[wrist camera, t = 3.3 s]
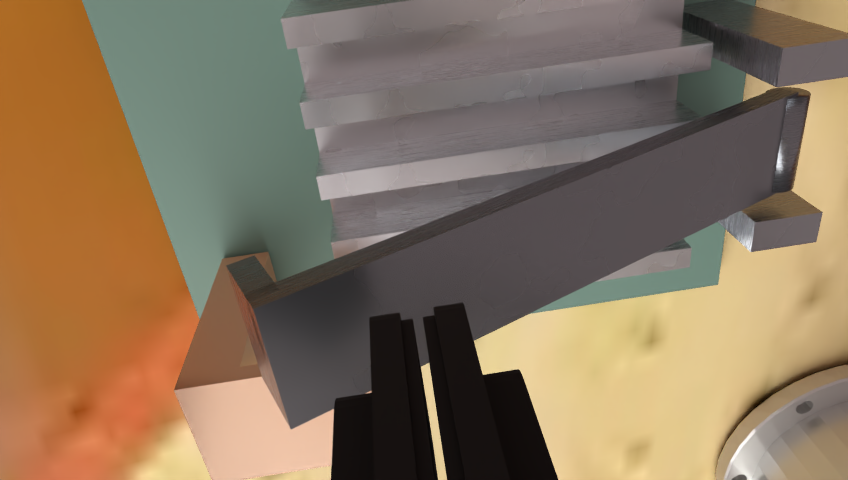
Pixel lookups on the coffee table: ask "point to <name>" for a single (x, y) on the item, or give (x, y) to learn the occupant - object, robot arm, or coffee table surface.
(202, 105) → the circuit board
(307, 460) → the bracket
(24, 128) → the coffee table surface
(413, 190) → the heatsink
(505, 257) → the strap
